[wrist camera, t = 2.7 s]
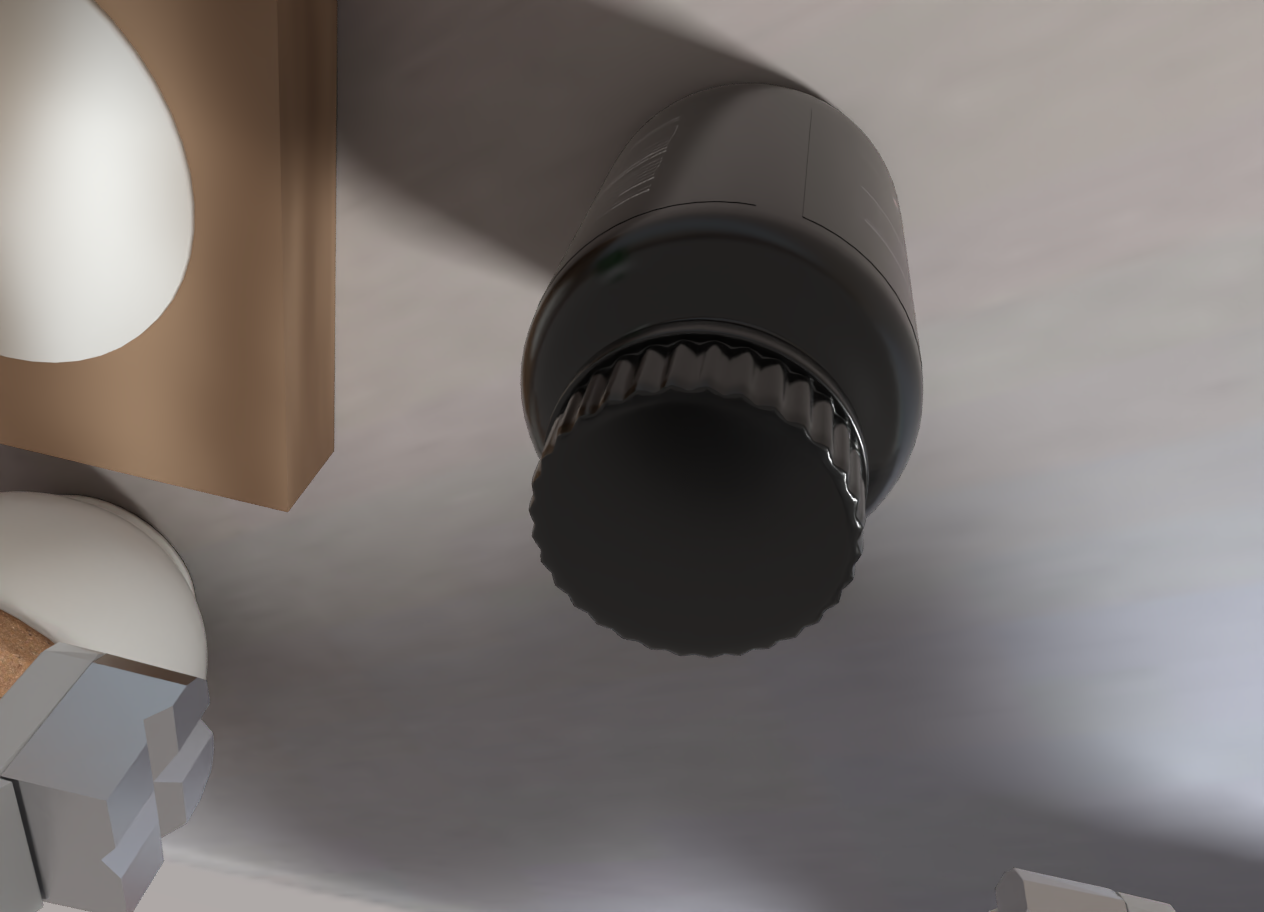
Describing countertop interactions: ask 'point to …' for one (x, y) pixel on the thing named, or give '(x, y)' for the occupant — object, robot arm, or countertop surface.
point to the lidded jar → (92, 586)
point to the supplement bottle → (723, 374)
